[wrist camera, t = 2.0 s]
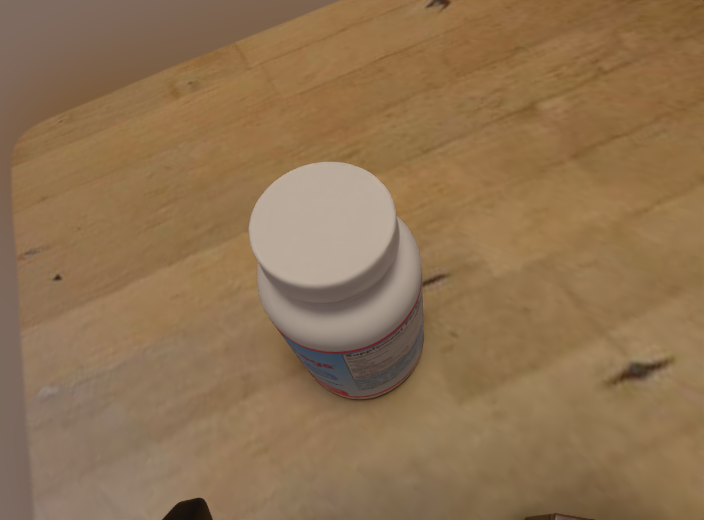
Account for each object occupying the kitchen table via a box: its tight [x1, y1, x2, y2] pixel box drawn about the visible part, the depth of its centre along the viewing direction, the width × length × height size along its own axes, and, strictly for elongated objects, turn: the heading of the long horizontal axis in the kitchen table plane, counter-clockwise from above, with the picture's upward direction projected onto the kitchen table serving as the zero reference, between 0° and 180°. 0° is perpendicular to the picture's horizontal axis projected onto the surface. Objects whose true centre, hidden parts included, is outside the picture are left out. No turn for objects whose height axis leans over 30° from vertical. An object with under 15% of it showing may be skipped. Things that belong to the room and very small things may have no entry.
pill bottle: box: [249, 162, 424, 399], centre depth 19 cm, size 6×6×11 cm
